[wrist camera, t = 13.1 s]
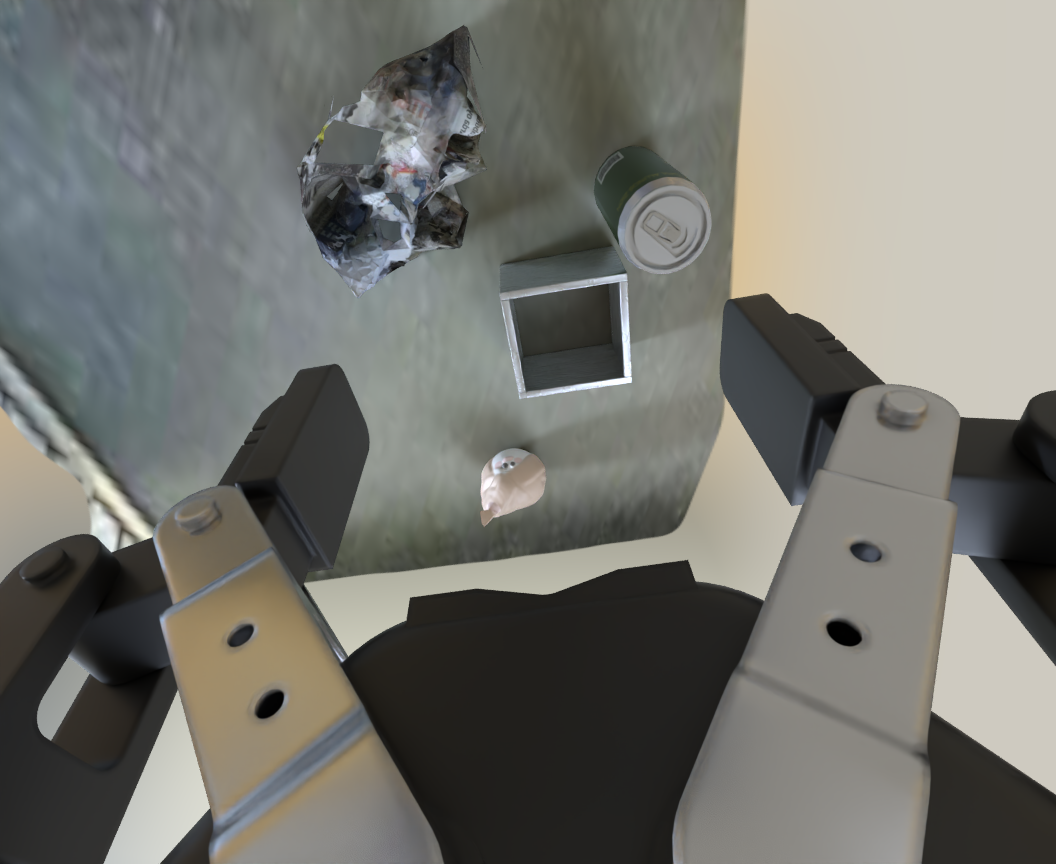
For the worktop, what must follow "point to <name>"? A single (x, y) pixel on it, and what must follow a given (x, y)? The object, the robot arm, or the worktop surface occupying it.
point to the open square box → (575, 364)
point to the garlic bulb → (511, 483)
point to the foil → (399, 165)
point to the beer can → (652, 210)
